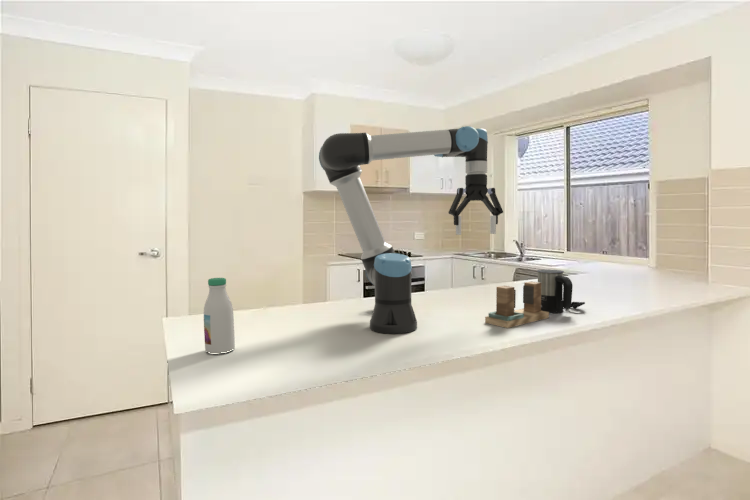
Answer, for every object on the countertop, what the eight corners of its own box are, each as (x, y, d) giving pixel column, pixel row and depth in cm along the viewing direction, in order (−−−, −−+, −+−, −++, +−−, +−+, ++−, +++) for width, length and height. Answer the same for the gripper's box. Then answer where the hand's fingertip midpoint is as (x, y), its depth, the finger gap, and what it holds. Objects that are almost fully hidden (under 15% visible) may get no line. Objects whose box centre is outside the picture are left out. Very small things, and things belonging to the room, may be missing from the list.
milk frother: (531, 310, 168) (532, 270, 167) (552, 304, 179) (553, 266, 177) (569, 317, 157) (570, 274, 156) (589, 309, 168) (590, 270, 167)
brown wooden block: (505, 319, 148) (506, 288, 147) (496, 316, 151) (496, 286, 150) (515, 316, 150) (516, 286, 149) (506, 314, 153) (506, 285, 153)
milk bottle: (238, 346, 129) (235, 276, 127) (230, 355, 121) (227, 280, 119) (210, 347, 128) (207, 276, 127) (201, 355, 121) (197, 281, 119)
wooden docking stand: (507, 328, 144) (507, 290, 143) (485, 322, 151) (485, 286, 150) (548, 317, 156) (549, 283, 155) (526, 313, 164) (527, 280, 163)
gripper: (502, 175, 168) (501, 232, 170) (439, 174, 161) (439, 234, 163) (513, 173, 161) (512, 233, 162) (448, 172, 154) (448, 235, 156)
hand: (475, 234), depth 163 cm, fingers open, 13 cm apart
